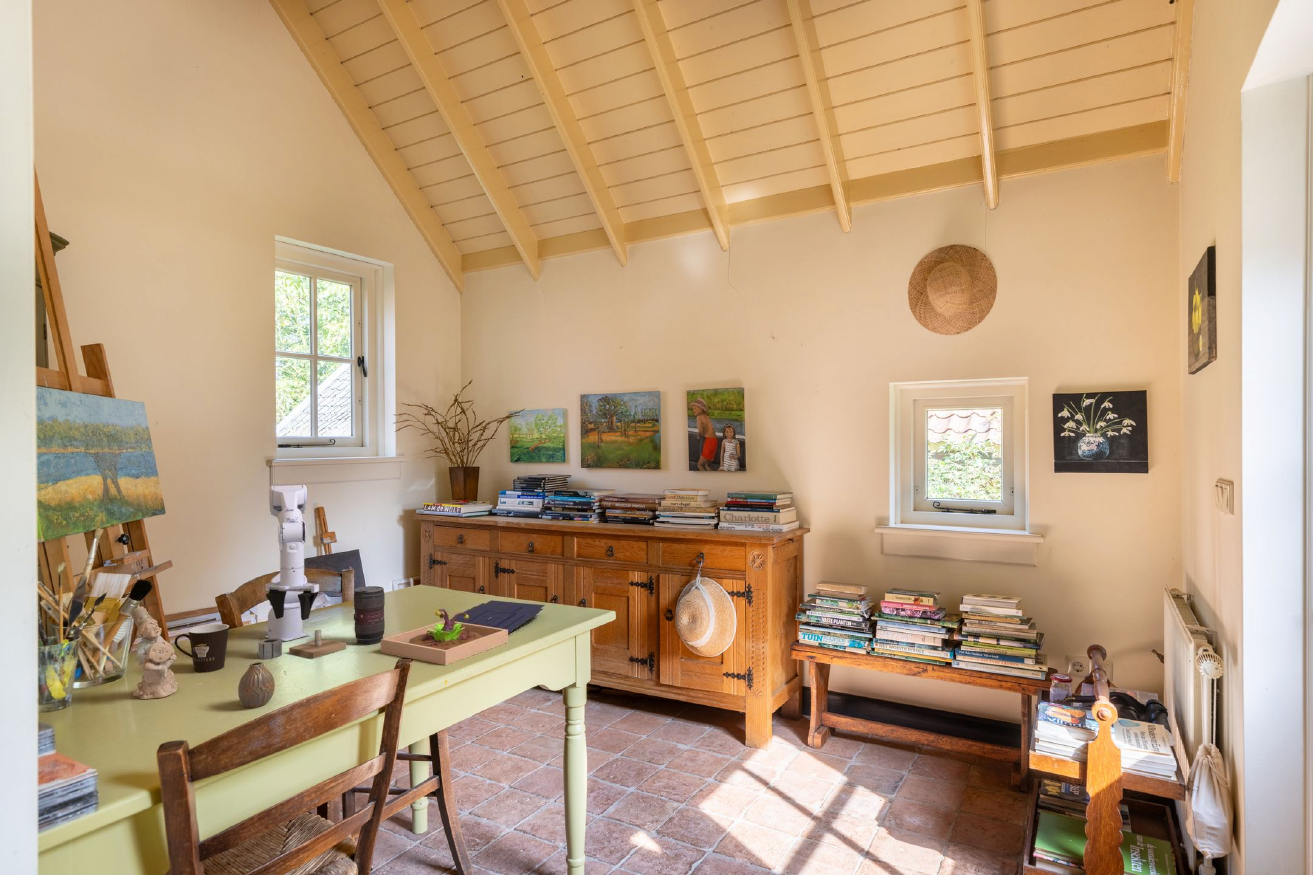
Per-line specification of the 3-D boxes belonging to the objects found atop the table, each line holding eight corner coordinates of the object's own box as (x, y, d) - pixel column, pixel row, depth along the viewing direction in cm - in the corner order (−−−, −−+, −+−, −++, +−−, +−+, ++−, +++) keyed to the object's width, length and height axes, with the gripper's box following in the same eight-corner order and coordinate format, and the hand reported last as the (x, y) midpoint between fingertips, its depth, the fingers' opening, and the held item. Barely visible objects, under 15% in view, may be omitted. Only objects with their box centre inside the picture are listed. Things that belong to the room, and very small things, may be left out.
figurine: (123, 697, 160) (123, 607, 160) (163, 685, 167) (163, 599, 168) (148, 703, 156) (148, 610, 156) (187, 691, 164) (187, 602, 164)
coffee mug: (237, 665, 183) (237, 625, 183) (206, 675, 175) (206, 634, 175) (203, 660, 187) (203, 622, 187) (171, 670, 178) (171, 630, 178)
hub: (254, 657, 189) (254, 641, 189) (273, 652, 194) (273, 637, 194) (266, 660, 187) (266, 644, 187) (285, 654, 191) (285, 639, 191)
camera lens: (375, 646, 199) (373, 592, 198) (348, 645, 201) (347, 591, 200) (391, 637, 207) (390, 585, 206) (366, 636, 208) (364, 584, 208)
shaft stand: (289, 653, 193) (289, 632, 193) (322, 643, 202) (322, 624, 202) (313, 658, 188) (313, 637, 188) (346, 648, 197) (346, 628, 197)
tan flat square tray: (381, 652, 193) (381, 639, 193) (446, 631, 214) (446, 620, 214) (445, 665, 182) (445, 651, 182) (507, 642, 202) (507, 629, 202)
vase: (247, 699, 158) (247, 659, 158) (280, 698, 159) (280, 658, 159) (231, 710, 151) (231, 668, 152) (266, 709, 152) (265, 667, 152)
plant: (396, 647, 198) (395, 607, 199) (461, 634, 212) (461, 596, 212) (428, 664, 184) (428, 620, 184) (496, 649, 197) (496, 608, 197)
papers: (551, 613, 233) (550, 602, 232) (499, 649, 205) (498, 637, 204) (486, 607, 241) (486, 597, 241) (429, 641, 213) (428, 629, 213)
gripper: (257, 569, 189) (257, 621, 189) (306, 570, 187) (306, 623, 187) (276, 564, 196) (276, 614, 196) (324, 566, 194) (324, 616, 193)
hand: (292, 618), depth 192 cm, fingers open, 7 cm apart
